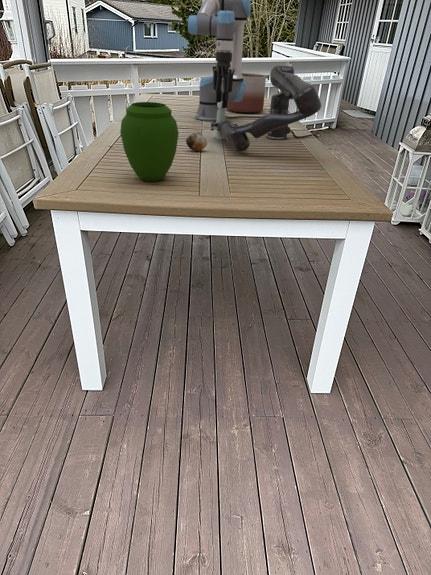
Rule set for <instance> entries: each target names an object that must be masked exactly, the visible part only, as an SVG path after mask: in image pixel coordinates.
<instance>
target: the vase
mask: <svg viewBox="0 0 431 575" xmlns="http://www.w3.org/2000/svg"><path fill="white" fill-rule="evenodd" d="M125 113H126V114H125V115H124V117H122V119H121V122H120V123H121V124H120V130H119V133H120V138H121V142H122V147H123V150H124V154H125V155H126V158H127V160H128V163H129V165H130V167H131V168H132V170H133V172H134V173H135V175H136V176H137V177H138V178H139V179H141V180H143V181H145V182H159V181H161V180H163V179H164V178H165V176H166V175H167V174H168V173H169V170H170V169H171V167H172V165H173V162H174V159H175V157H176V156H175V155H176V153H177V147H178V140H179V129H178V122H177V120H176V119H175V117H174V116H173V115H172V109H171V108H170V107H169V106H167V105H166V104H164V103H162V102H155V101H138V102H132V103H131V104H130V105H128V107H127V108H125Z"/></svg>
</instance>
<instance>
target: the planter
mask: <svg viewBox="0 0 431 575" xmlns="http://www.w3.org/2000/svg"><path fill="white" fill-rule="evenodd" d="M241 74H242V76H243V81H246V83H245V89H244V94H243V98H242V101H241V102H228V101H227V108H226V110H228V111H229V112H232V113H238V114H259V113H261V112H262V111H264V104H265V93H266V92H265V91H266V83H267V76H266V75H264V74H261V73H250V72H249V73H248V72H241Z"/></svg>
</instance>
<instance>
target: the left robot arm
mask: <svg viewBox="0 0 431 575" xmlns="http://www.w3.org/2000/svg"><path fill="white" fill-rule="evenodd" d="M250 17H251V0H202V1H201V6H200V8H199V10H198V12H197V14H194V15H191V14H190V15H189V16H188V19H187V32H188V33H189V35H195V36H214V37H216V42H215V50H216V52H215V61H216V65H214V66H212V75H211V76H203V77H202V78H200V80H199V86H198V87H199V100H198V101H199V103H198V104H199V105H198V107H197V111H196V114H195V119H196V120H199V121H202V122H203V121H204V122H214V121H216V122H217V111H218V109H219V107H217V104H218V102H222V108H224V109H227V101H228V102H241V101H242V98H243V94H244V89H245V83H246V81H243V76H242V74H241V73H242V66H243V64H242V63H243V49H244V33H245V24H246V23H247V21H248V18H250ZM263 116H264V115H261V116H260V115H259V116H258V115H257V116H256V115H254V116H253V115H251V116H250V115H237V116H236V115H235V116H228V115H225V118H226V119H238V118H240V119H241V118H246V119H247V118H252V119H253V118H254V119H256V118H257V119H259V118H261V117H263Z"/></svg>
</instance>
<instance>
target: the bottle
mask: <svg viewBox="0 0 431 575" xmlns="http://www.w3.org/2000/svg"><path fill="white" fill-rule="evenodd" d="M225 116H226V108H220V107H219V109H218V111H217V121H216V122H217V123H222V122H223V121H226V117H225ZM215 139H216V140H225V138H224V137H222V136H221V135H220V133H219V131H217V130H216V129H215Z"/></svg>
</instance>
